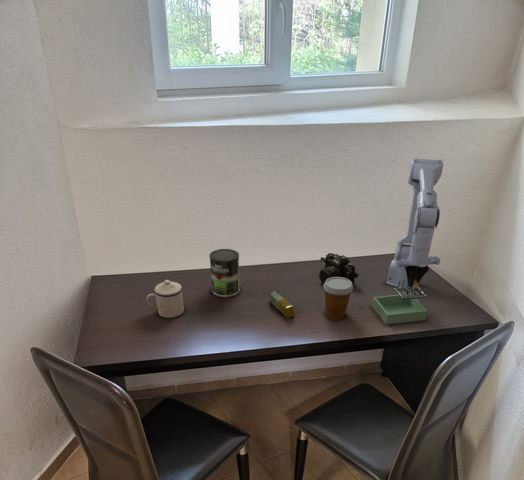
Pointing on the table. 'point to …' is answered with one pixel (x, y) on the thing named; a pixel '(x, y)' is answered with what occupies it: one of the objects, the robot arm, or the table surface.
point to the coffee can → (225, 272)
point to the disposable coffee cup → (337, 296)
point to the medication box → (281, 304)
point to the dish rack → (415, 287)
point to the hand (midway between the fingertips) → (412, 285)
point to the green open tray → (399, 309)
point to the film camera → (337, 268)
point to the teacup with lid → (168, 299)
